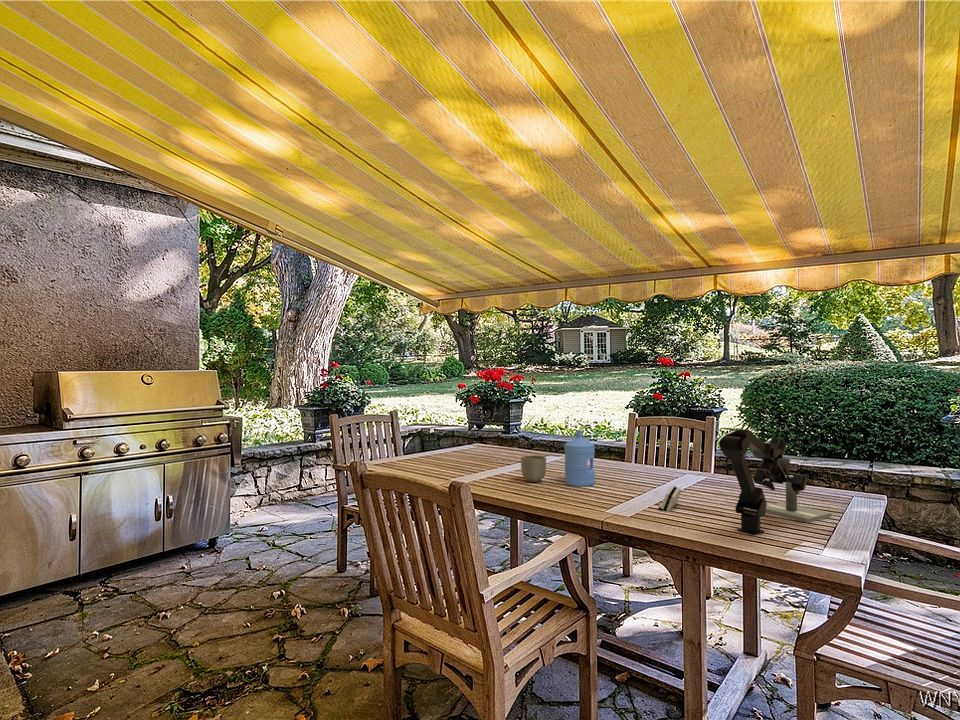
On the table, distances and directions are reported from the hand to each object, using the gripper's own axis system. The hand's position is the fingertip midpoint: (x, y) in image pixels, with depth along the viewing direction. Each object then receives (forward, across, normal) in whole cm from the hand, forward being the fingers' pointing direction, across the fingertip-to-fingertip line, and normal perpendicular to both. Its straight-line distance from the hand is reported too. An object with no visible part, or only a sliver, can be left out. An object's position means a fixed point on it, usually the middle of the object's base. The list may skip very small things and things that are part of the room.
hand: (786, 491), depth 210 cm
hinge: (-8, +38, +23) cm, 45 cm away
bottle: (+9, 0, +2) cm, 9 cm away
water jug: (-5, +94, +20) cm, 96 cm away
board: (+11, 0, +3) cm, 11 cm away
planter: (-16, +114, +30) cm, 119 cm away
